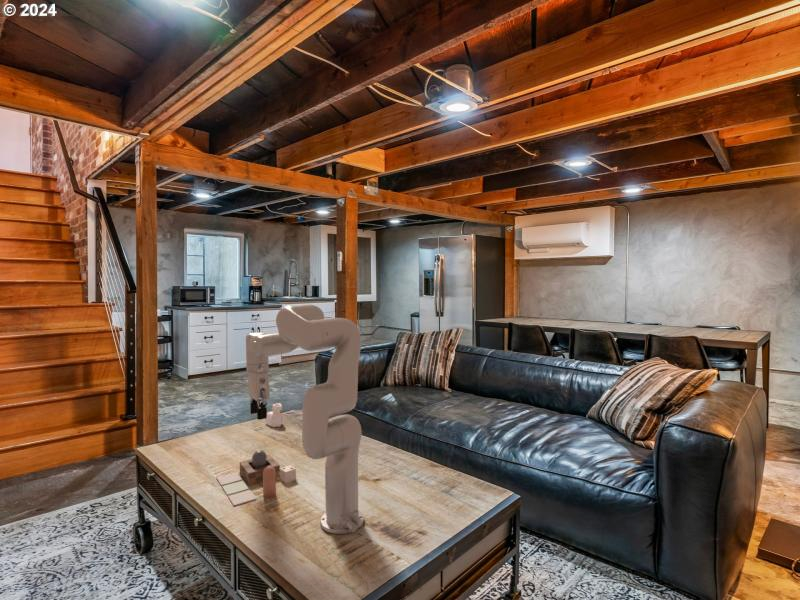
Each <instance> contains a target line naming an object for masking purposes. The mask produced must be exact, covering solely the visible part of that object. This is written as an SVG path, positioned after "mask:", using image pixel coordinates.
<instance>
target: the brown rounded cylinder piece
mask: <svg viewBox="0 0 800 600" xmlns="http://www.w3.org/2000/svg"><path fill="white" fill-rule="evenodd" d="M276 480H277V477H276V471H275V469H274V468H273V467H271V466H268V467H266V468H265V469H264V471H263V481H262V492H263V495H262V496H263V497H264V498H265V499H271V498H273V497H276V495H277V484H276V483H277V481H276Z"/></svg>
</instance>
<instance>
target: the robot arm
mask: <svg viewBox="0 0 800 600" xmlns="http://www.w3.org/2000/svg"><path fill="white" fill-rule="evenodd" d="M275 324H276V328H277V330H278V332H277V333H269V334H267V333H266V332H250V333H248V334H246V336H245V353H246V354H245V355H246V356H245V357H246V362H245V363H246V368H245V369H246V373H247V374H248V379H247V380H248V396H249V397H250V400H249V402H250V407H249V408H250V414H251V415H253V414H254V415H255V414H256V418H257V420H259V421H260V420H265V419H266V418H267V413H268V412H267V411H268V409H267V408H268V400H270V398H271V394H270V381H269V374H268V372H269V371H270V370H269V369H270V368H269V367H270V366H269V357H273V356H278V355H286V354H289V353H291V352H293V351H294V350H297V348H300V349H302V350H303V351H304V350H305V351H308V352H315V351H321V350H326V349H331V348H332V349H333V348H335V350H334V352H333V354H332V356H331V357H330V360H329V362H328V366H327V367H328V368H327V369H328V370H327V372H328V373H327V380H326V382H324V383H319V384H316V385H314V386H313V385H312V386H311V387H310V388H308V389H307V391H306V392H305V394H304V396H303V401H302V417H301V418H302V419H301V420H302V424H301V425H302V426H301V427H302V428H301V430H302V431H301V434H302V435H301V438H302V446H303V447H302V448H303V450H304V452H305V454H306V456H307V457H308V458H310V459H312V460H320V459H324V458H326V459H325V468H324V470H325V473H324V474H325V476H324V479H325V480H324V483H325V484H324V485H325V487H324V488H325V512H324V513H323V514H322V515H321V517H320V522H319V523H320V527H321V529H322V530H324V531H326V532H327V533H329V534H334V535H343V534H344V535H346V534H349V533H350V534H351V533H355V532H356V531H357V530H358V529H360V528H361V527H362V526H363V524H364V514H363V512H362V511H361V510H359V452H360V451H359V450H360V445H361V439H362V426H361V423H360V421H359V419H358V418H357V417H356V416H354V415H352V414H345V413H349V412H350V411H352V410H353V409H355V407H356V405H357V401H358V390H359V389H358V386H359V385H358V383H359V363H360V356H361V355H360V354H361V350H362V337H361V332H360V330H359V327H358V326H357V325H356V323H355V322H353V320H350V319H349V318H346V317H345V318H344V317H330V318H325V314H324V312H323V310H322V308H320V307H319V306H317V305H314V304H299V305H287V306H284V307H282V308H281V309H280V310H278V313H277V315H276V318H275Z"/></svg>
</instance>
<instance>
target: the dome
mask: <svg viewBox="0 0 800 600" xmlns="http://www.w3.org/2000/svg"><path fill="white" fill-rule="evenodd" d="M267 455H268V454H267V453H266V451H264V450H262V449H260V450H256V451H255V452H253V454H252V457H251V459H252V468H253V469H256V468H260V467H264V466H267Z"/></svg>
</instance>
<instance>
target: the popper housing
mask: <svg viewBox="0 0 800 600" xmlns="http://www.w3.org/2000/svg"><path fill="white" fill-rule="evenodd" d="M266 455H267V466H264V467H260V468H256V469H253V468H252V458H251V459H248V460H242V461H240V462H239V475H240V476H242V477H243V479H244V480H245V482H246V483H247V484H248V485H252V484H253V485H254V484H257V483H260V482H263V471H264V469H265V468H266V467H268V466H271V467H273V468H274V469H275V471H276V478H277V477H280V468H281V467H280V466H281V465H280V464H279V463H278V462H277V461H276V460H275V459H274V458H273V457H272V456H271V455H270V454H266Z"/></svg>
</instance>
